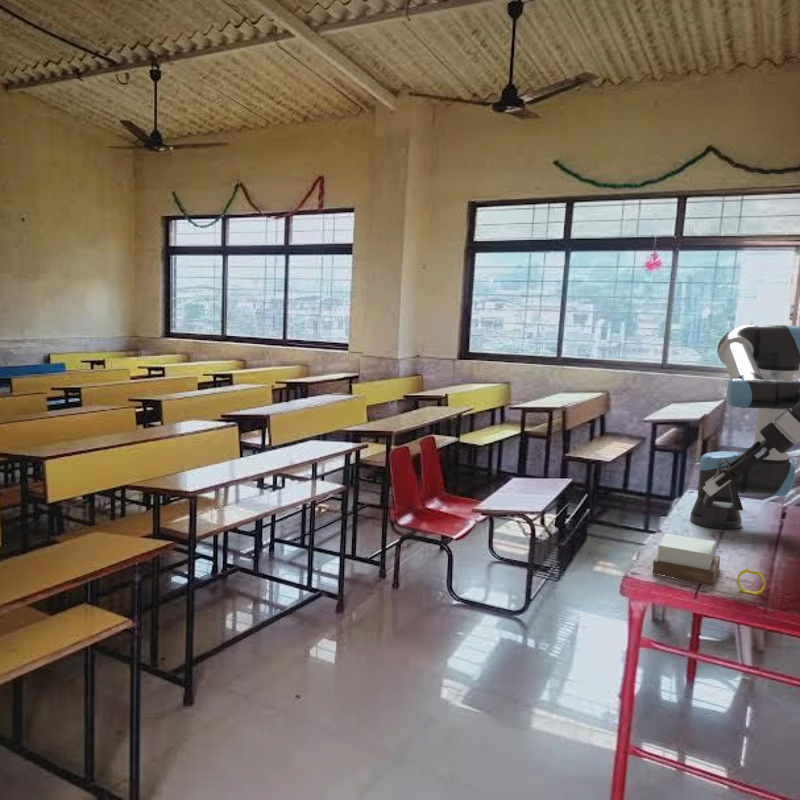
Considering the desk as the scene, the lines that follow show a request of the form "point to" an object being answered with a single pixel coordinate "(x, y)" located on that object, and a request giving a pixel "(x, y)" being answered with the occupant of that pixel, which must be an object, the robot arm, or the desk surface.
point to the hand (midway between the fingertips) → (707, 489)
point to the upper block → (686, 551)
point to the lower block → (688, 571)
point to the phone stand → (736, 503)
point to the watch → (752, 571)
